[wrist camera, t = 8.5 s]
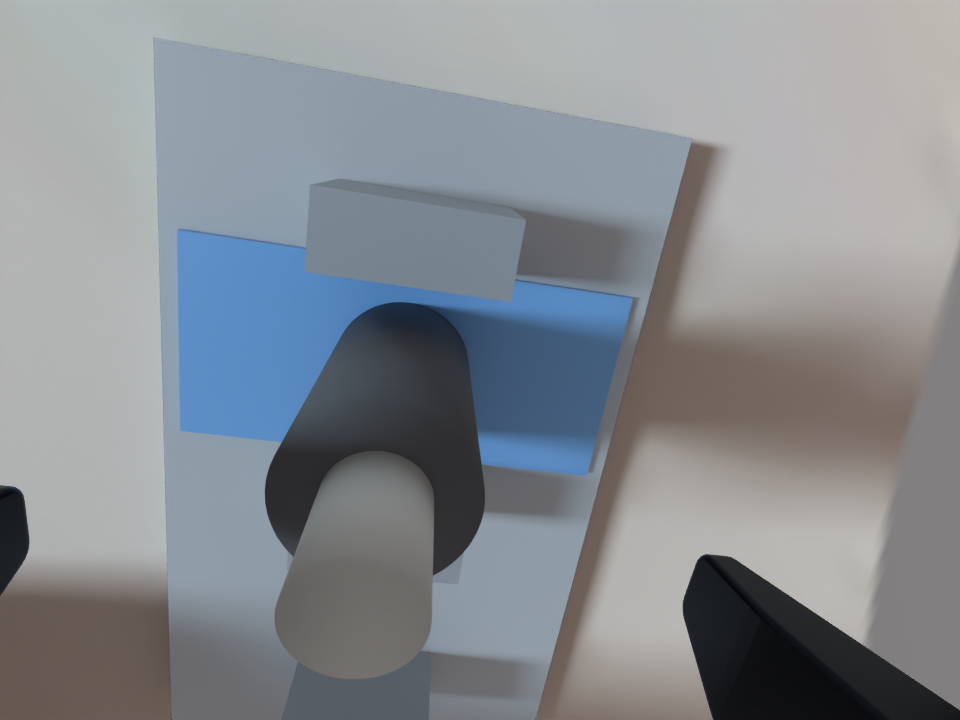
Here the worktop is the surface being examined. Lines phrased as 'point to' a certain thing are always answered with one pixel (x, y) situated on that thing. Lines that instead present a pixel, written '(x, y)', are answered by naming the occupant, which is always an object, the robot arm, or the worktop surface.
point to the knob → (375, 492)
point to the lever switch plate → (348, 293)
